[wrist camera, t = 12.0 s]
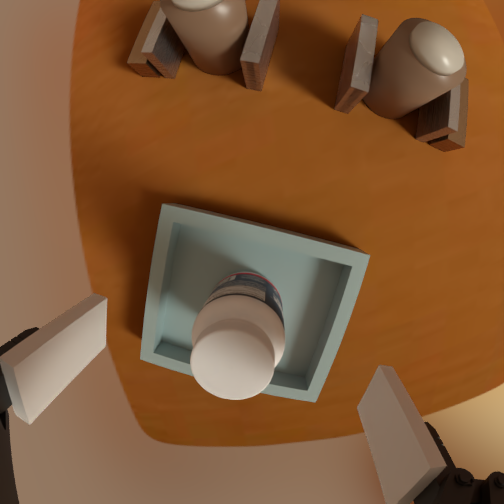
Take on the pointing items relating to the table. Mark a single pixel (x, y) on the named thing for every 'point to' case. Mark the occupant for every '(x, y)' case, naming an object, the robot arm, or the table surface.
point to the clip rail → (258, 57)
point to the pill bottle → (238, 337)
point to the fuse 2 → (414, 68)
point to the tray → (257, 261)
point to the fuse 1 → (210, 31)
